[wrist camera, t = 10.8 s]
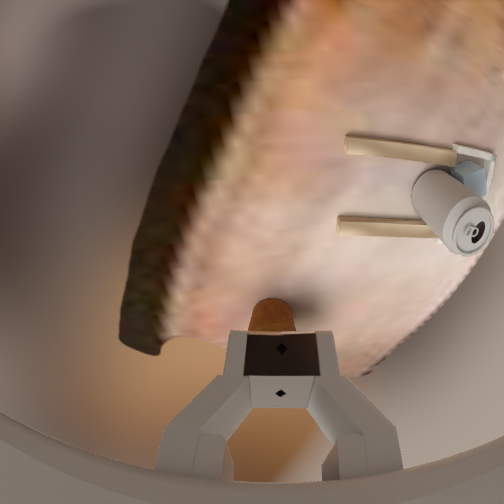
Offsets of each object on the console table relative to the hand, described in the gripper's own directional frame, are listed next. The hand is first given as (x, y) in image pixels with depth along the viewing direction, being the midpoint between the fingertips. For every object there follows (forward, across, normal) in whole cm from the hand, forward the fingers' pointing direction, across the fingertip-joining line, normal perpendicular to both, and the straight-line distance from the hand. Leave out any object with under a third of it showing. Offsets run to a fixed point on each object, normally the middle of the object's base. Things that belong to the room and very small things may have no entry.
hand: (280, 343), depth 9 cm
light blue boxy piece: (+31, -27, +3) cm, 41 cm away
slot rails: (+30, -16, +6) cm, 35 cm away
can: (+31, -22, +6) cm, 38 cm away
